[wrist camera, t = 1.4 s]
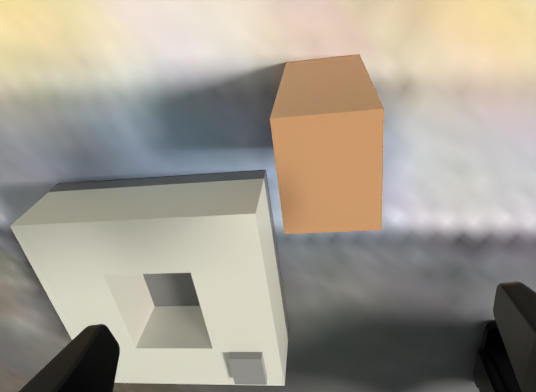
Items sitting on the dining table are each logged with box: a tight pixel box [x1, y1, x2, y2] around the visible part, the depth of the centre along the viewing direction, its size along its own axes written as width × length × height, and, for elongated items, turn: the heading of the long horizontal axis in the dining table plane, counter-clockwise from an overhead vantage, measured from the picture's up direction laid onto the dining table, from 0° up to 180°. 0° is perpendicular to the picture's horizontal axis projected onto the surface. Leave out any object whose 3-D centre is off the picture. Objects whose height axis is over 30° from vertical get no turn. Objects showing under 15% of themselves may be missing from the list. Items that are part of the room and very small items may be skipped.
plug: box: [270, 54, 384, 234], centre depth 17 cm, size 4×4×8 cm
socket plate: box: [10, 170, 289, 386], centre depth 25 cm, size 13×13×5 cm
